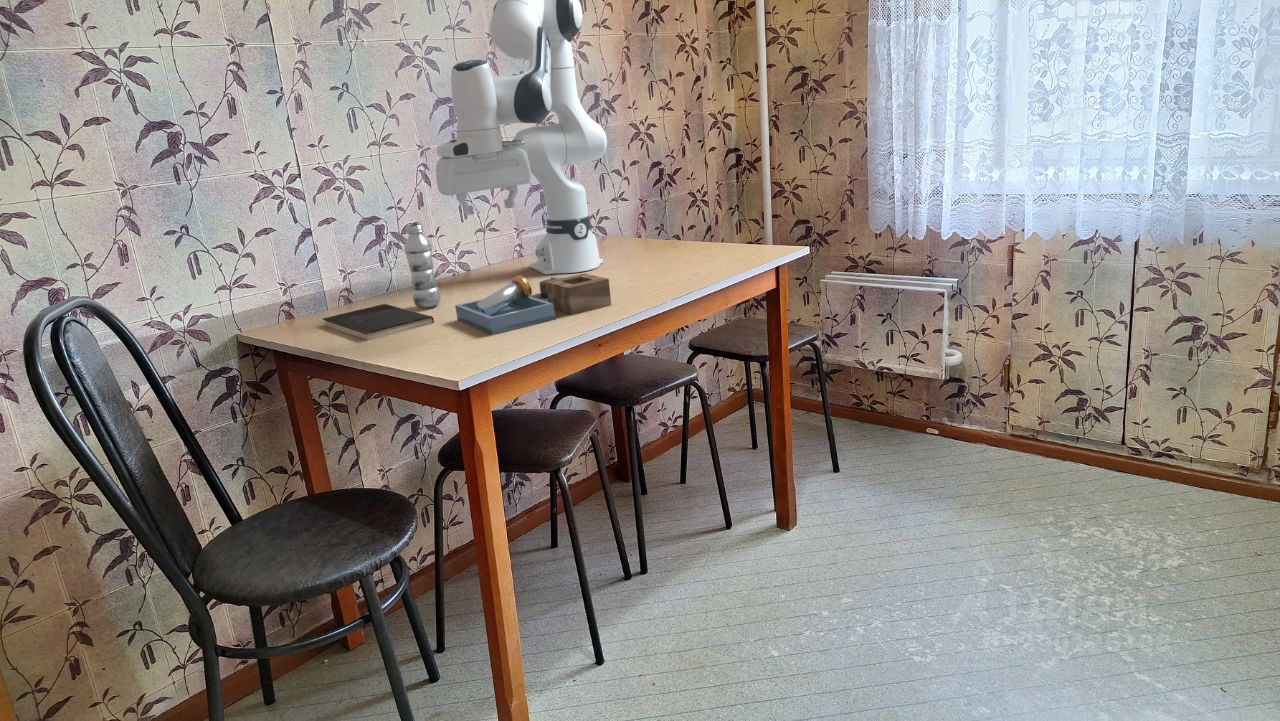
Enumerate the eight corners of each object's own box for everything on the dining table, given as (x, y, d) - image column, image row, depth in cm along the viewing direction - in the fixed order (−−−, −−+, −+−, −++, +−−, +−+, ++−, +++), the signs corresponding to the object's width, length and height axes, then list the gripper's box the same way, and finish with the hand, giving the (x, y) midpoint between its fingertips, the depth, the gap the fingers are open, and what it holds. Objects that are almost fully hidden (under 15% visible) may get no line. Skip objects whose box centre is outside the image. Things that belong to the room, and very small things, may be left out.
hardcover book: (367, 343, 176) (365, 333, 175) (324, 328, 193) (322, 318, 192) (434, 325, 186) (433, 315, 185) (388, 312, 202) (386, 303, 202)
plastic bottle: (447, 303, 203) (434, 221, 197) (432, 310, 197) (418, 226, 191) (424, 303, 205) (410, 222, 199) (409, 310, 199) (394, 227, 193)
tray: (457, 320, 186) (455, 305, 185) (517, 306, 194) (515, 292, 193) (492, 334, 172) (489, 318, 171) (555, 319, 179) (553, 303, 178)
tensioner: (530, 301, 197) (527, 277, 196) (567, 293, 203) (565, 268, 201) (571, 314, 182) (568, 288, 180) (611, 304, 187) (608, 278, 186)
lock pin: (470, 300, 181) (513, 274, 187) (480, 320, 183) (522, 295, 189) (482, 301, 177) (525, 275, 183) (492, 322, 179) (534, 296, 185)
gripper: (518, 138, 179) (526, 202, 183) (428, 149, 168) (439, 217, 173) (532, 138, 174) (540, 204, 179) (440, 149, 163) (451, 219, 168)
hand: (489, 211), depth 176 cm, fingers open, 8 cm apart
